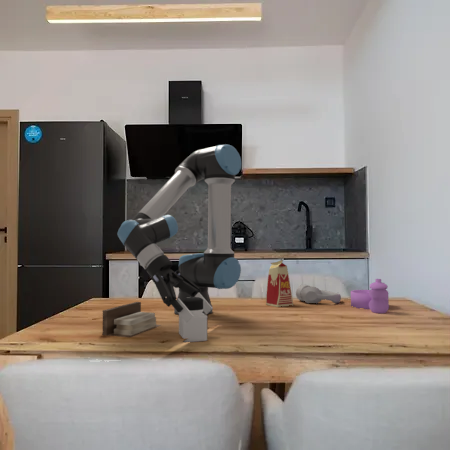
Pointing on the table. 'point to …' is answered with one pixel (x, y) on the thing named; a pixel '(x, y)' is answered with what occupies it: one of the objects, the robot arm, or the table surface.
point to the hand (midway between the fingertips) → (200, 315)
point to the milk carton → (278, 286)
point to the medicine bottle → (194, 321)
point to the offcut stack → (134, 323)
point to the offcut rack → (117, 313)
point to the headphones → (315, 294)
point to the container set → (372, 298)
